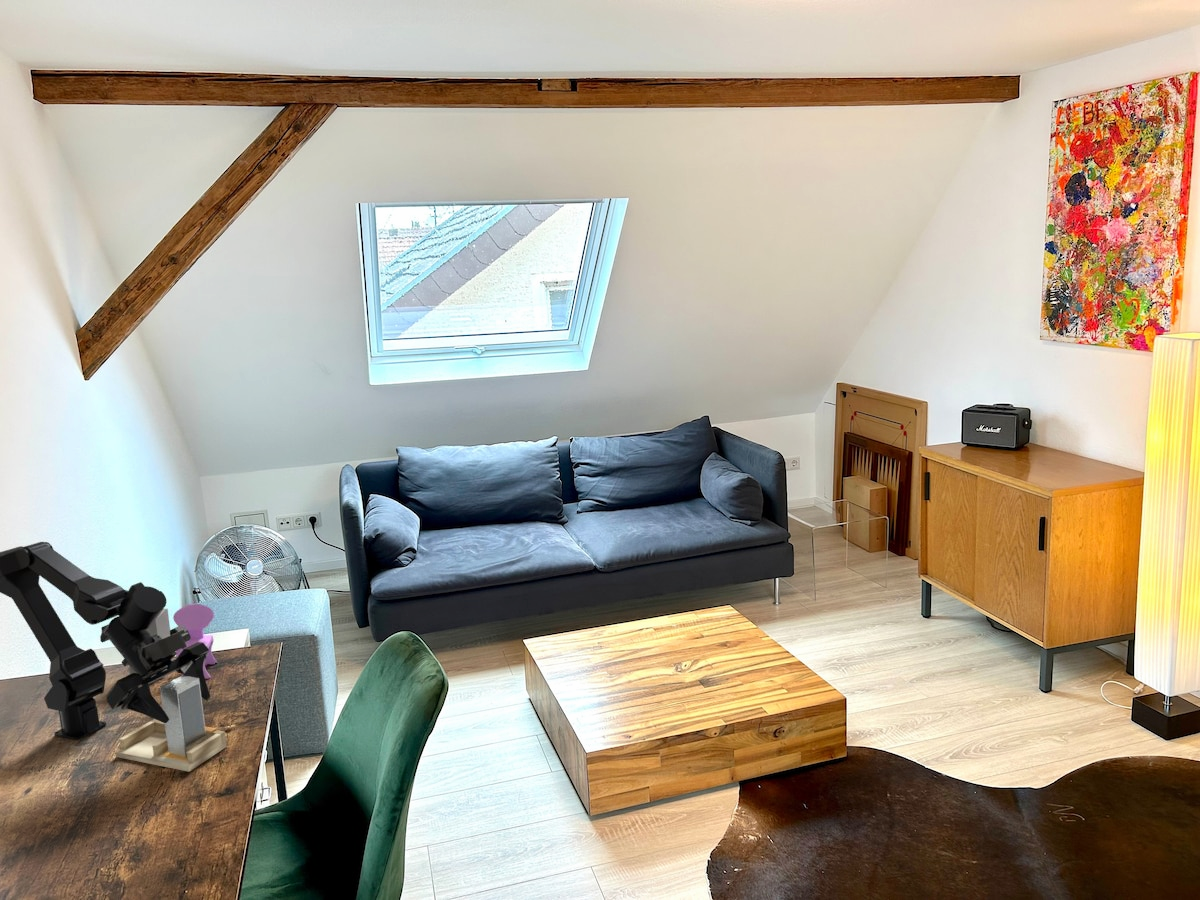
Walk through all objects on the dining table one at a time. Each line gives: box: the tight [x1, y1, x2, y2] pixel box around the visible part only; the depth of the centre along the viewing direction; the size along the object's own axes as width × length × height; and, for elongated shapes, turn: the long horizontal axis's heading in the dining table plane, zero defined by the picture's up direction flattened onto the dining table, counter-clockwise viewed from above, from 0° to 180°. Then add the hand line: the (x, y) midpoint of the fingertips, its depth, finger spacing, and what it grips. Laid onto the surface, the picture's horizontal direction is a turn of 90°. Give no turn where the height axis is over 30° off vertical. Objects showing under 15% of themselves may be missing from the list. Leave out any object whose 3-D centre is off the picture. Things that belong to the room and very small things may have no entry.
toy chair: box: [173, 603, 218, 680], centre depth 199 cm, size 8×9×15 cm
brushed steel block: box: [159, 675, 207, 758], centre depth 163 cm, size 4×5×13 cm
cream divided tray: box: [115, 718, 227, 772], centre depth 166 cm, size 9×17×3 cm, turn 69°
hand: (188, 709), depth 162 cm, fingers open, 9 cm apart
